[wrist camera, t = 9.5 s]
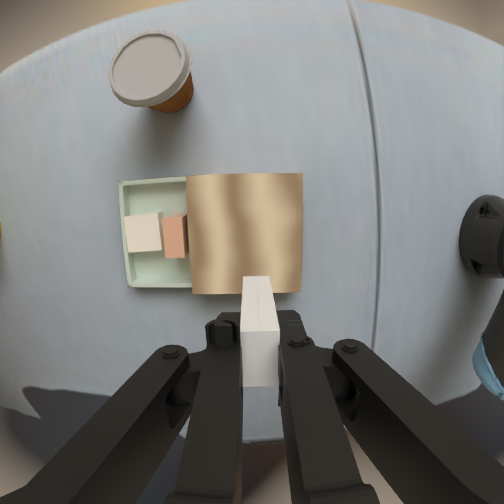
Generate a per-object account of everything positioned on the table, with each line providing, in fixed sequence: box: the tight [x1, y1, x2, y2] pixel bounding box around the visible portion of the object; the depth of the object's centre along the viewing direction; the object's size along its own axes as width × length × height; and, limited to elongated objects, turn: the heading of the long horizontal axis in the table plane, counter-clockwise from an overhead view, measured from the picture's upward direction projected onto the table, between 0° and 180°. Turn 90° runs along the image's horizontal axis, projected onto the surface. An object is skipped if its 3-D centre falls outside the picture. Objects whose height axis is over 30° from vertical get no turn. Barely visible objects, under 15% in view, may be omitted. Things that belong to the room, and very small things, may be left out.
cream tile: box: [124, 211, 165, 253], centre depth 39 cm, size 5×5×2 cm
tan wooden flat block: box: [186, 173, 303, 294], centre depth 39 cm, size 14×15×5 cm
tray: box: [119, 176, 192, 287], centre depth 40 cm, size 10×15×2 cm, turn 1°
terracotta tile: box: [162, 213, 189, 258], centre depth 38 cm, size 5×5×2 cm
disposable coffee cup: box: [109, 31, 194, 113], centre depth 31 cm, size 10×10×12 cm
